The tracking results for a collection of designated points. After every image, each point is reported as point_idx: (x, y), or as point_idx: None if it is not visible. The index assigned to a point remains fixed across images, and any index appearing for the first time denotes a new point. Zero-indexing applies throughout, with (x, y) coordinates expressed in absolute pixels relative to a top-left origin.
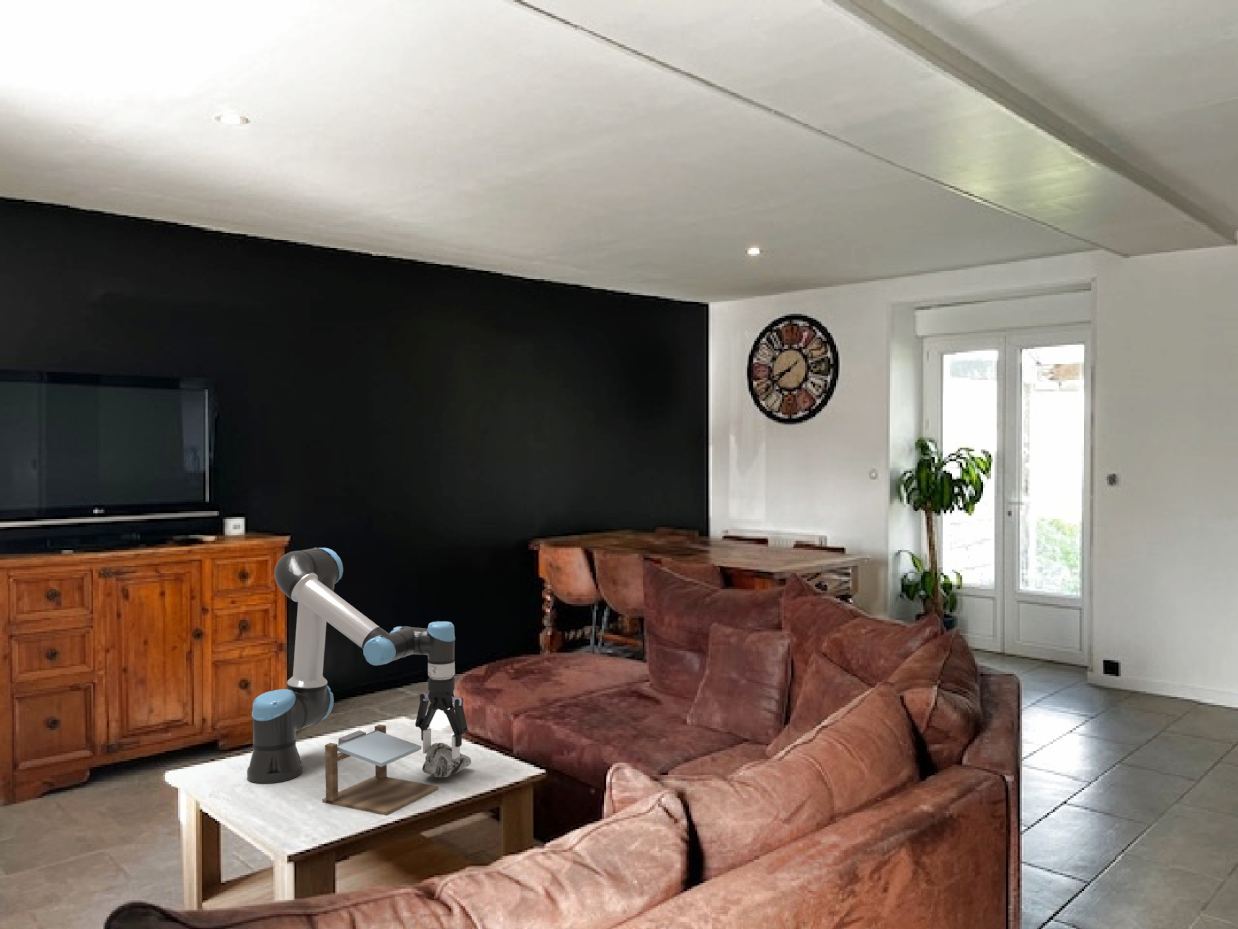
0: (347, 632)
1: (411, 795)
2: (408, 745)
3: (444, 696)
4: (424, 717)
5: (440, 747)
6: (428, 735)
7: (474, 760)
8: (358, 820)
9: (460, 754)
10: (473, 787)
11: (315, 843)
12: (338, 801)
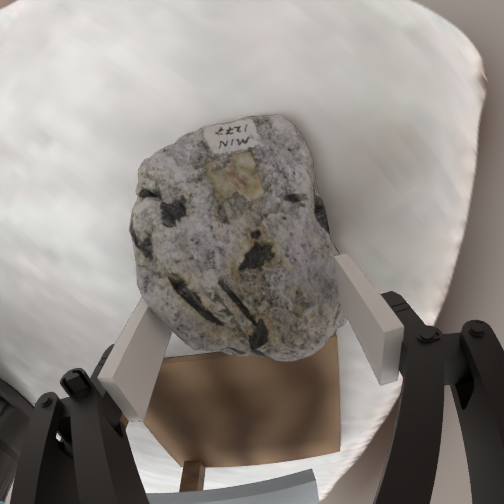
0: None
1: (320, 404)
2: (278, 500)
3: None
4: (50, 443)
5: (258, 337)
6: (137, 371)
7: (191, 35)
8: (309, 467)
9: (268, 174)
10: (418, 254)
11: (319, 495)
12: (214, 465)
